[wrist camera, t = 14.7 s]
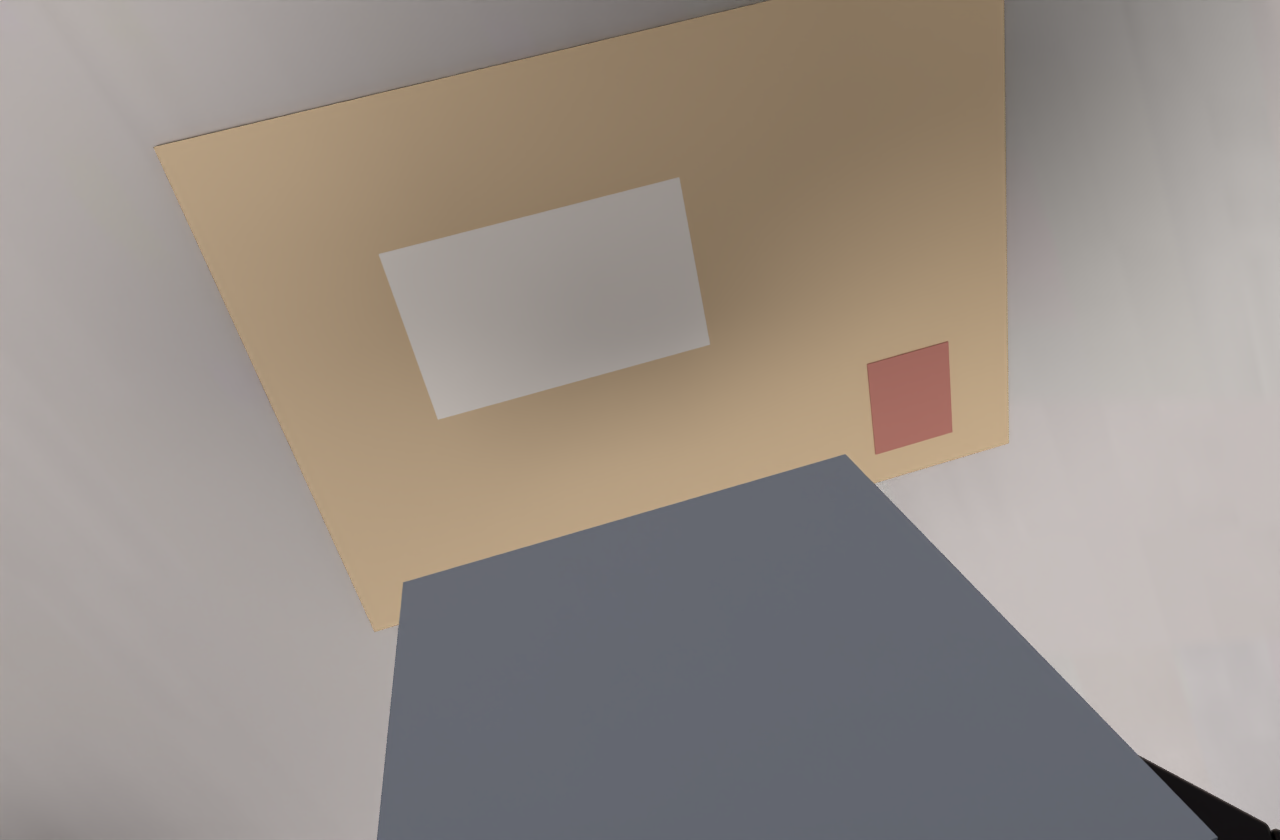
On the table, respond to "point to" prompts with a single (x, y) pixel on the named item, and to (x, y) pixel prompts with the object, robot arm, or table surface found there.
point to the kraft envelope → (622, 274)
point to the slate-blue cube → (745, 689)
